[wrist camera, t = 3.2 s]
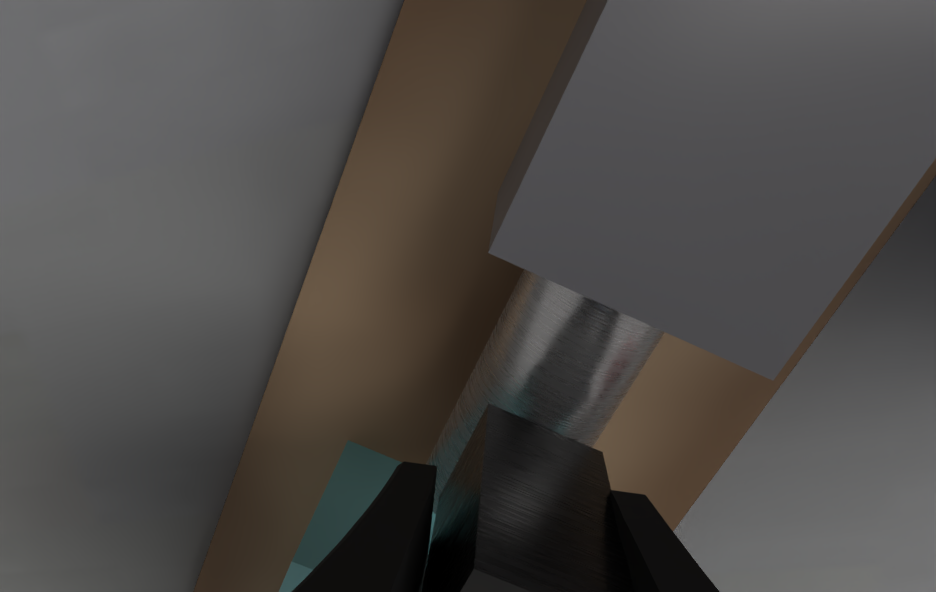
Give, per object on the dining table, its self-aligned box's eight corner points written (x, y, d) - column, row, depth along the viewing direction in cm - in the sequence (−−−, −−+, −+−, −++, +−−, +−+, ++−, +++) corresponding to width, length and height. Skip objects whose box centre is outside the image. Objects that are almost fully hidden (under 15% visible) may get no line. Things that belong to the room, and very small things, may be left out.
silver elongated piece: (891, -108, 10) (1532, -424, 4) (537, 480, 15) (552, 785, 9) (740, -188, 10) (1147, -667, 4) (431, 436, 15) (364, 714, 8)
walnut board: (1270, -339, 10) (1344, -380, 9) (515, 715, 21) (515, 745, 20) (667, -697, 10) (683, -781, 9) (199, 593, 20) (183, 618, 19)
